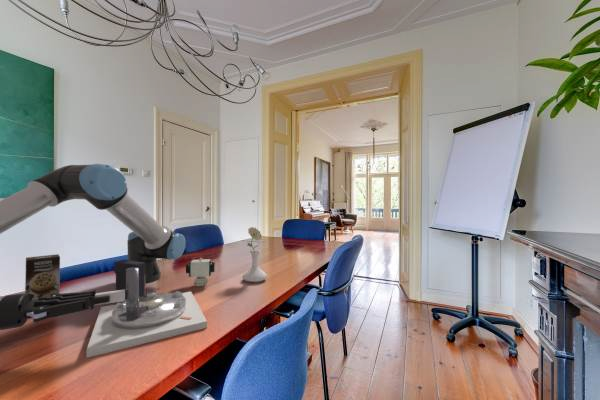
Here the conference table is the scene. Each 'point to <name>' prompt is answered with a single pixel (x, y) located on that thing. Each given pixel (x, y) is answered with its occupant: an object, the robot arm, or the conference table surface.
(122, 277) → the black upright block
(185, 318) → the base plate
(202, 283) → the pneumatic valve
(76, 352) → the conference table surface
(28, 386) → the conference table surface
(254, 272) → the flower in vase
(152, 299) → the round disc with peg
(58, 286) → the brown food box
